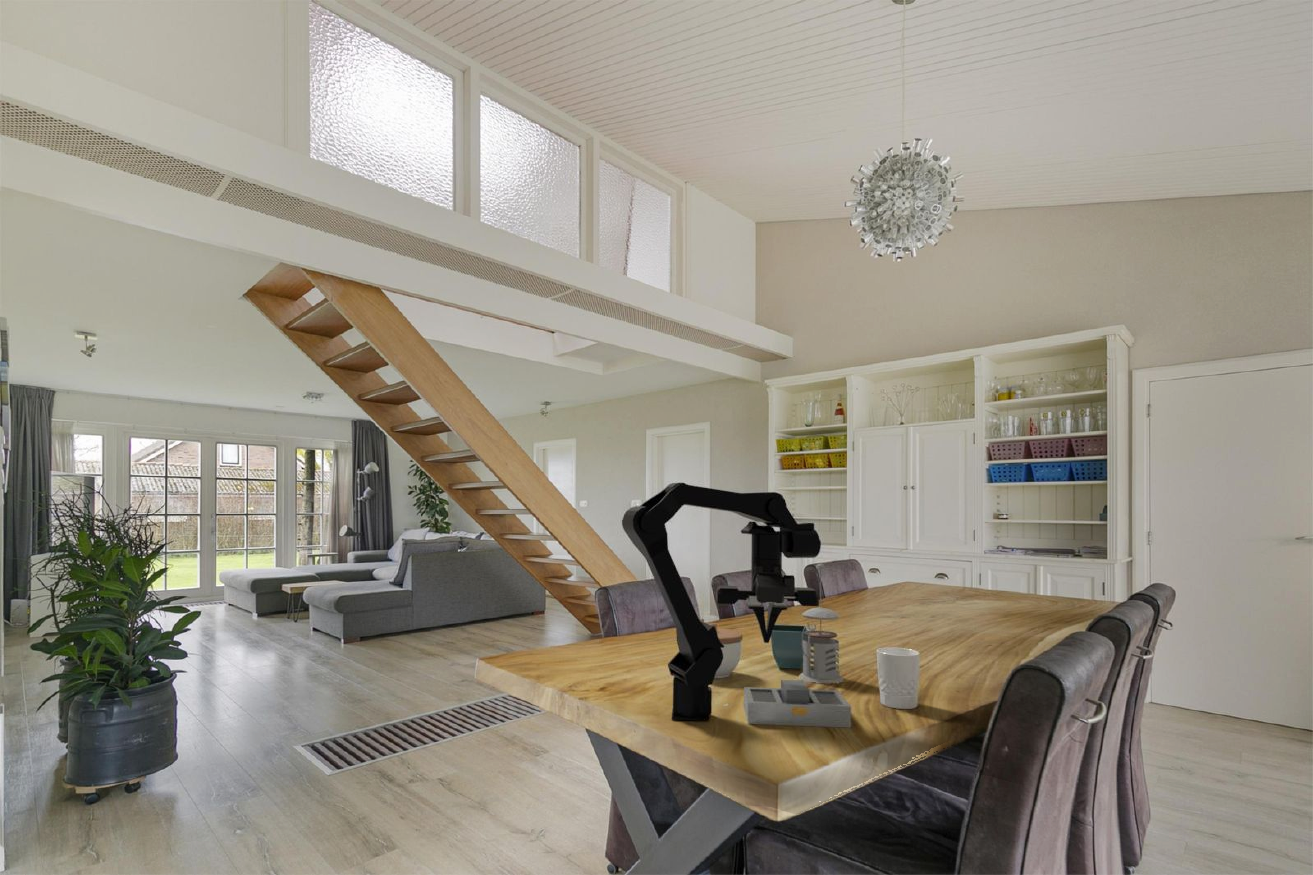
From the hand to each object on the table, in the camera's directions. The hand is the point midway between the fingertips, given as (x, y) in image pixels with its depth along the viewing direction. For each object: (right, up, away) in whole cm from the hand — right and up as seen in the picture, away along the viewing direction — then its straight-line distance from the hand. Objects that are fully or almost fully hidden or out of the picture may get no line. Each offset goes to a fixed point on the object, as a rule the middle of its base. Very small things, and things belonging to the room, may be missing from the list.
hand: (766, 642), depth 130 cm
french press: (+15, -15, +22) cm, 30 cm away
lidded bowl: (-8, -15, +24) cm, 29 cm away
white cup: (+26, -13, +3) cm, 29 cm away
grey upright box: (+4, -11, -6) cm, 13 cm away
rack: (+4, -12, -6) cm, 14 cm away
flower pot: (+11, -16, +33) cm, 38 cm away
